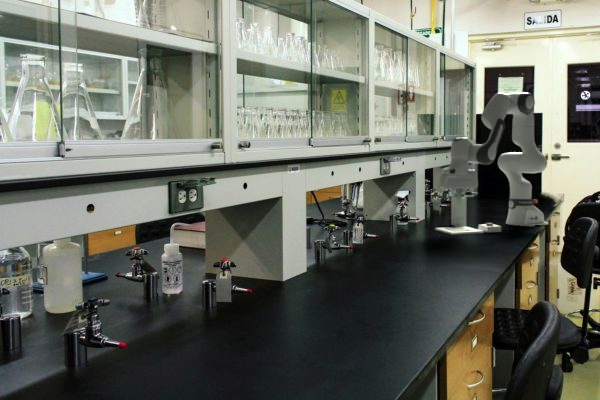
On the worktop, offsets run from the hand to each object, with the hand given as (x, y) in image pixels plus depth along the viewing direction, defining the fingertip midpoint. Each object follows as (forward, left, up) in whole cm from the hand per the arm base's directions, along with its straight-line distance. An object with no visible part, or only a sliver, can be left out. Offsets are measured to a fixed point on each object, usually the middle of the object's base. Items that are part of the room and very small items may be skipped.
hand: (458, 197), depth 309 cm
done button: (-16, +4, -16) cm, 23 cm away
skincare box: (-11, -17, -18) cm, 27 cm away
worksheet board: (-1, 0, -17) cm, 17 cm away
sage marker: (0, 0, -5) cm, 5 cm away
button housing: (-16, +4, -17) cm, 24 cm away
